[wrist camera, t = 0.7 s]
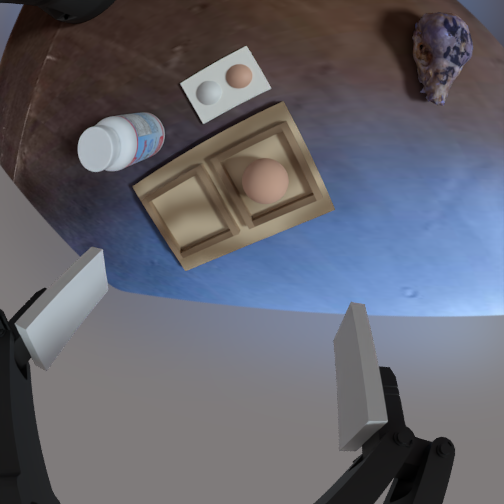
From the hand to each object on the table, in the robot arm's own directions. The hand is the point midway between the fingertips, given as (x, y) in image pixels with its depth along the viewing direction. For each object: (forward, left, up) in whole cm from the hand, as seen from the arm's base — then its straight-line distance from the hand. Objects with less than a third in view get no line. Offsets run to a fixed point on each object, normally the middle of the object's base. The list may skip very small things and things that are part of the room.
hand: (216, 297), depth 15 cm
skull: (-6, +26, -24) cm, 36 cm away
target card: (-13, +1, -23) cm, 27 cm away
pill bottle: (-13, -11, -24) cm, 29 cm away
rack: (-1, -5, -23) cm, 24 cm away
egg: (-1, +1, -22) cm, 22 cm away
